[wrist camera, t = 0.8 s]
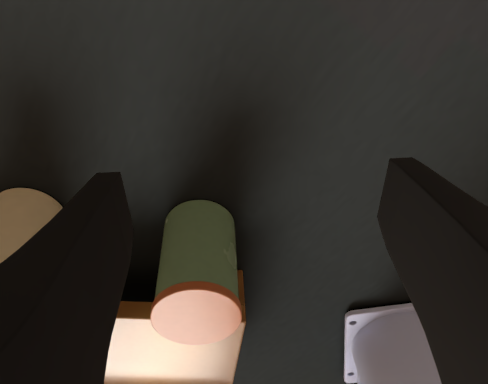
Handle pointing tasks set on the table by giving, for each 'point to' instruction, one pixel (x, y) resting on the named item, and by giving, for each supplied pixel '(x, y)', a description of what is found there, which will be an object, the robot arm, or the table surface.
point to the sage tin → (197, 276)
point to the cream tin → (23, 217)
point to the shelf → (168, 351)
